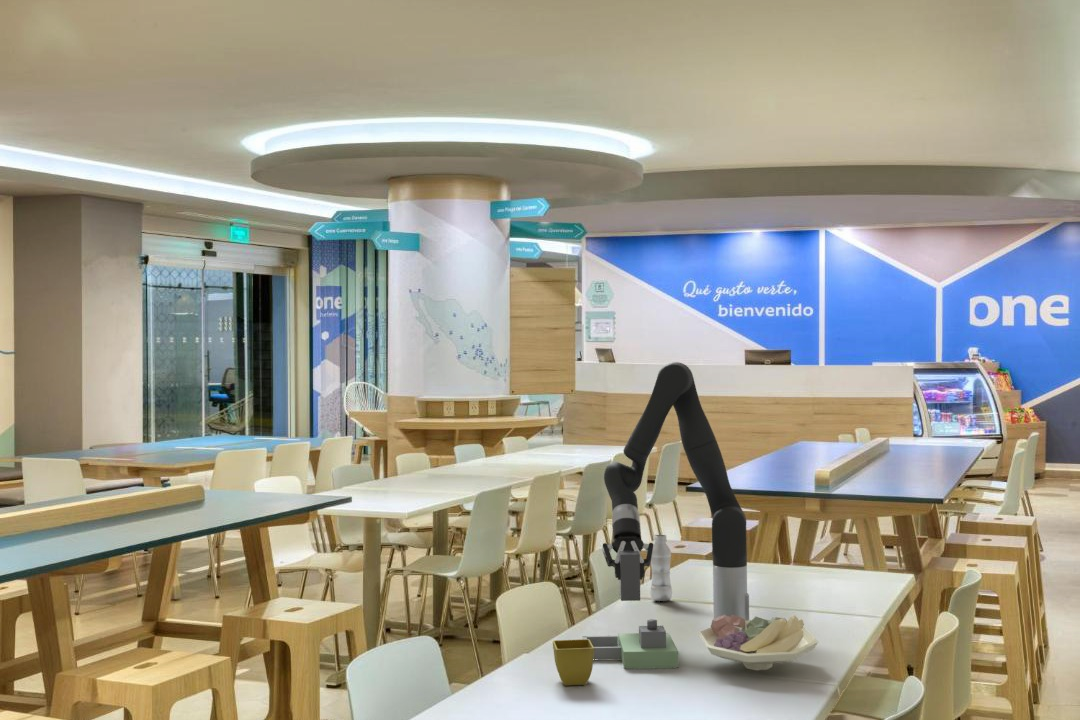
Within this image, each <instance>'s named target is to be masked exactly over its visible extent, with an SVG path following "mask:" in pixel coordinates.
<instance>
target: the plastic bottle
mask: <svg viewBox="0 0 1080 720" xmlns="http://www.w3.org/2000/svg"><path fill="white" fill-rule="evenodd" d="M653 542H654V543H653V552H652V558H651V563H650V566H651V586H650V592H649V593H650V598H651V599H652V600H653V601H656V602H660V601H663V602H667V601H670V600H671V599H672V598H673V589H672V583H671V575H670V574H671V571H670V570H671V559H672V558H671V557H672V551H671V549H670V548H669V546H668V544H667V535H666V534H655V535H653Z"/></svg>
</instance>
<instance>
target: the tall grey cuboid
mask: <svg viewBox="0 0 1080 720" xmlns="http://www.w3.org/2000/svg"><path fill="white" fill-rule="evenodd" d="M619 558H620V562H619V564H620V573H621V578H620V580H618V581H619V583H618V584H619V598H620V601H621V602H622V601H623V602H625V601H626V602H629V601H630V602H633V601H641V580H640V554H639V552H638V551H634V550H631V551H619Z"/></svg>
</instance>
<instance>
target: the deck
mask: <svg viewBox="0 0 1080 720" xmlns="http://www.w3.org/2000/svg"><path fill="white" fill-rule="evenodd" d="M582 639H589V640H590V641H591V644H592V645H593V647H594V655H593V659H594V660H593V661H596V660H595V659H621V660H620V661H621V663H622V666H624V667H623V669H624V668H634V669H677V667H678V668H679V649H678V648H677V646H676V645H675V642H674V640H673V638H672V636H671V634H670V632H667V631H666V628H665V627H664V625H658V620H657V619H653V618H651V619H647V620H646V625H638V632H637V633H636V632H635V633H634V632H632V633H631V632H629V633H617V635H591V636H590V635H584V636H583V635H582ZM672 667H673V668H672Z"/></svg>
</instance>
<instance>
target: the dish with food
mask: <svg viewBox="0 0 1080 720" xmlns="http://www.w3.org/2000/svg"><path fill="white" fill-rule="evenodd" d="M698 635H699V637H700V639H701V640H702V642H703V643H704V646H705V647H706V648H707V650H708V651H709V653H710V654H711V655H713V656H716V657H719V658H721V659H725V660H729V661H733V662H736V663H737V662H739V663H743V664H742V665H743V666H744V668H746V669H749V670H753V671H766V670H769V669H771V668H773V667H774V666H773V664H786V663H787V662H791V661H793V660H796V659H797V658H799V657H802V656H803V655H805V654H807V653H808V652H810V651H812V650H815V648H816V646H817V645H818V644H819V640H818V639H816V637H815V636H814V635H813V634H812V633H811V632H810V631H809V630H808V629H807V628H806V627H805V623H804V620H803V618H798V617H797V616H796V615H792V616H791V617H790V618H789V619H788V620H787V619H786V618H785V617H777V616H776V617H771V618H770V620H769V619H765V618H762V617H759V616H754V617H753V618H752V619H751V620H750V619H749V620H747V621H745V619H743V618H740V617H737V616H734V615H732V616H731V617H728V616H726V615H722V616H718V617H717V618H715V619H714V618H713V619H712V621H711V623H710V627H709V628H707V629H704V630H702V631H699V632H698Z"/></svg>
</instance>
